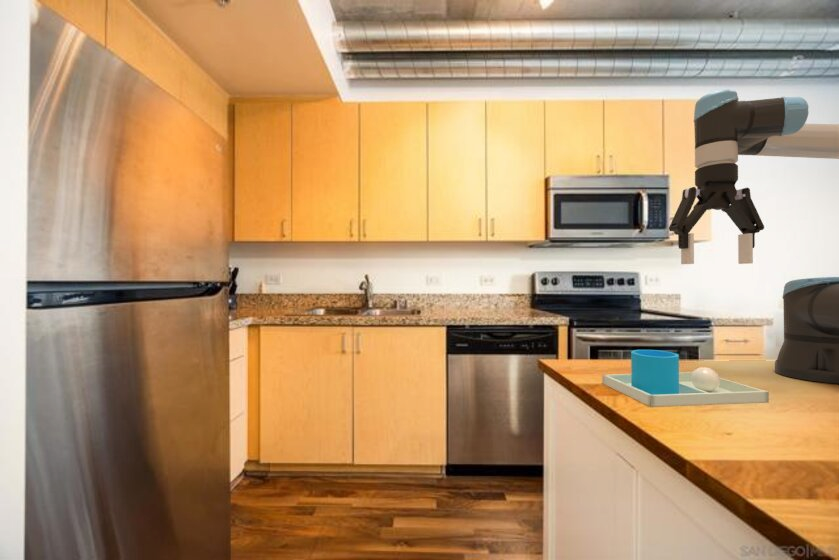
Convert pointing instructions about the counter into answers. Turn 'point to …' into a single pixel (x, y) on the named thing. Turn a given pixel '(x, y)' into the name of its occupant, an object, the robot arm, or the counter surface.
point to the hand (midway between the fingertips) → (716, 264)
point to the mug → (655, 371)
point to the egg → (705, 379)
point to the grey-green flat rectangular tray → (689, 392)
